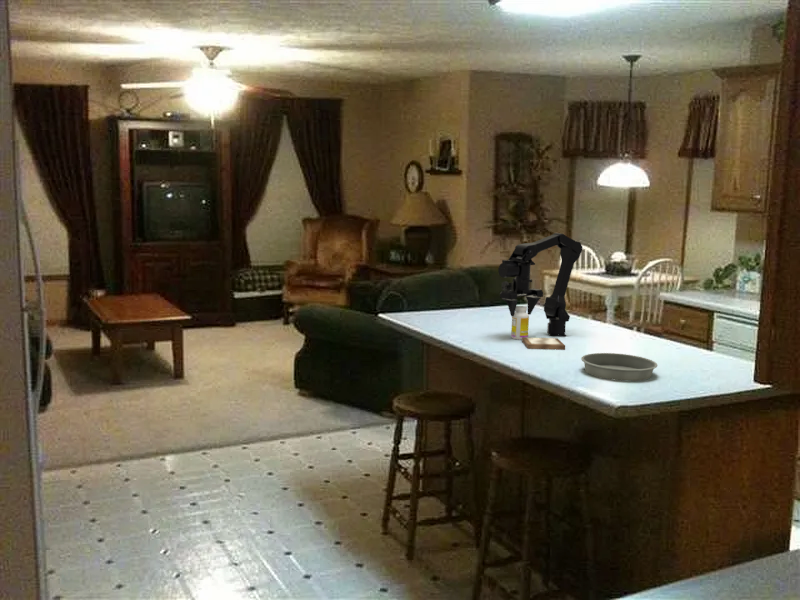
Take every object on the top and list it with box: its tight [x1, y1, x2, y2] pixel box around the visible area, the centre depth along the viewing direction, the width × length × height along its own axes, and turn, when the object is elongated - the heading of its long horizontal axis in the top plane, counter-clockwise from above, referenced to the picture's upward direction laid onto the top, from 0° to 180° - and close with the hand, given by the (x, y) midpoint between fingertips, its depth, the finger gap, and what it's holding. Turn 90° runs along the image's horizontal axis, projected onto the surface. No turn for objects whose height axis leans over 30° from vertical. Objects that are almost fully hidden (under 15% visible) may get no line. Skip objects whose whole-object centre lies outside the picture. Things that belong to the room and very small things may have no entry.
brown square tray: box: [521, 337, 566, 351], centre depth 318 cm, size 14×14×2 cm
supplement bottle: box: [510, 305, 530, 341], centre depth 330 cm, size 7×7×13 cm
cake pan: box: [580, 352, 658, 382], centre depth 276 cm, size 25×25×4 cm
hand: (520, 315), depth 329 cm, fingers open, 9 cm apart
